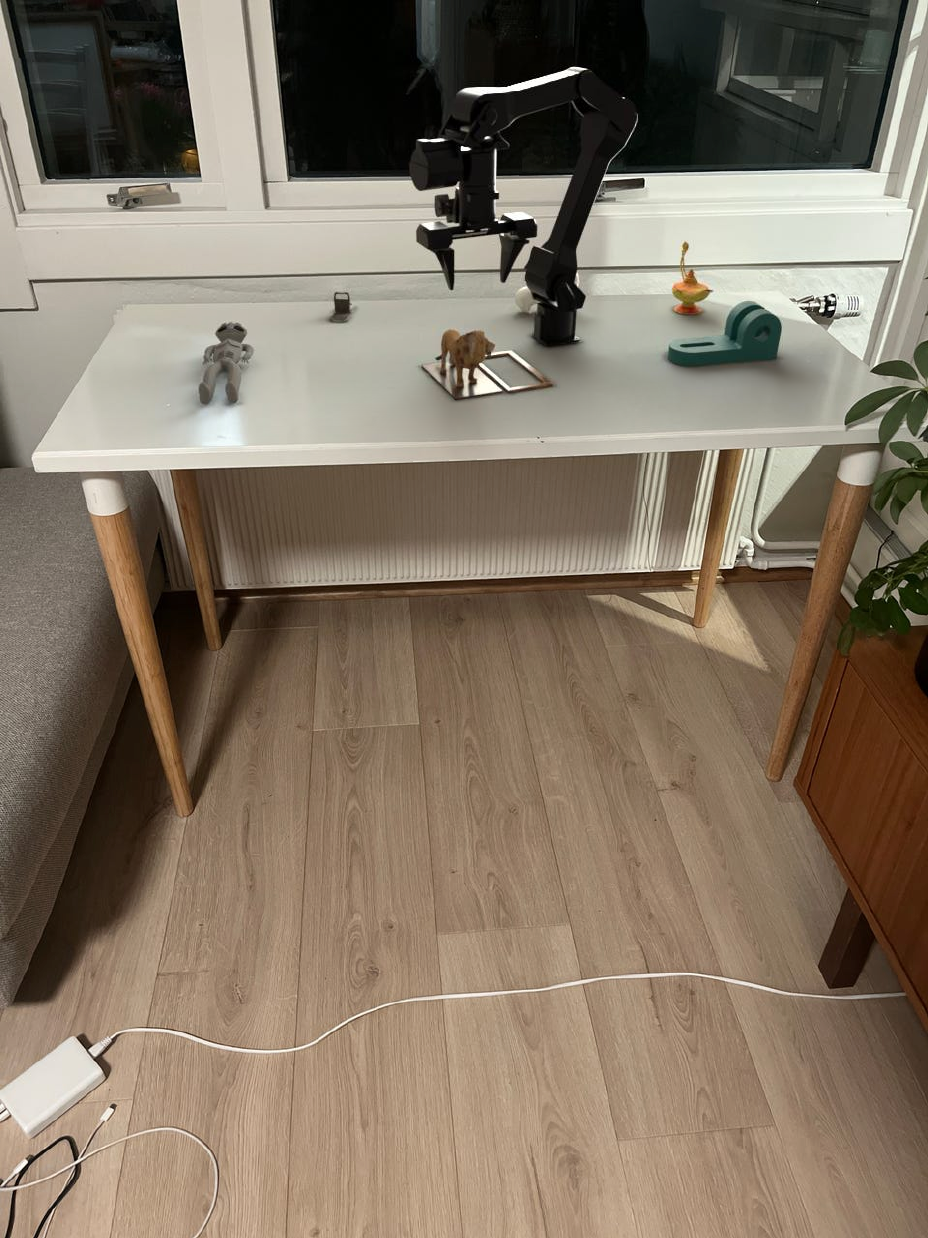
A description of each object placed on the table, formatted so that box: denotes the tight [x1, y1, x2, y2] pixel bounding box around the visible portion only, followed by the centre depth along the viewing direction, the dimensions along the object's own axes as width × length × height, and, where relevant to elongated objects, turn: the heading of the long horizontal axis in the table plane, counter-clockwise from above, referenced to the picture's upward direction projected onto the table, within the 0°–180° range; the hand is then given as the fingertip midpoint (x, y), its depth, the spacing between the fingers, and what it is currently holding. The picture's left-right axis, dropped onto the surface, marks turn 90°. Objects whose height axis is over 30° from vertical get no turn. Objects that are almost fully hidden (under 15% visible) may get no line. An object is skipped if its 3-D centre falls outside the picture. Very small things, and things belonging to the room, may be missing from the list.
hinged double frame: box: [421, 350, 554, 401], centre depth 157 cm, size 16×16×1 cm
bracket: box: [667, 300, 783, 367], centre depth 162 cm, size 18×7×8 cm, turn 103°
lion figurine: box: [434, 328, 496, 387], centre depth 153 cm, size 15×5×9 cm, turn 33°
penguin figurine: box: [514, 272, 580, 314], centre depth 180 cm, size 6×8×12 cm
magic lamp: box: [671, 240, 714, 316], centre depth 179 cm, size 7×18×11 cm, turn 7°
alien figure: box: [198, 321, 255, 405], centre depth 156 cm, size 8×5×25 cm
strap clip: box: [331, 291, 355, 322], centre depth 180 cm, size 8×3×4 cm, turn 174°
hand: (477, 285), depth 157 cm, fingers open, 9 cm apart
